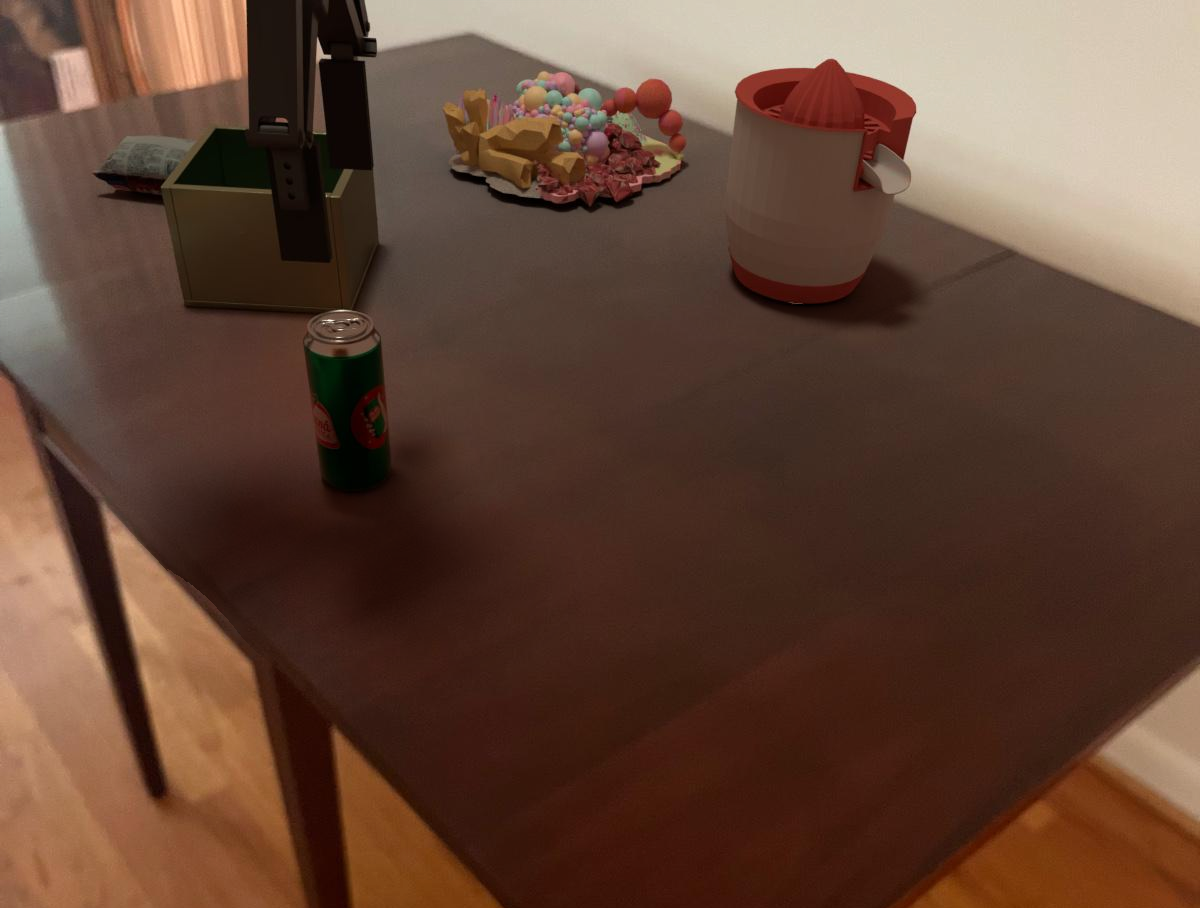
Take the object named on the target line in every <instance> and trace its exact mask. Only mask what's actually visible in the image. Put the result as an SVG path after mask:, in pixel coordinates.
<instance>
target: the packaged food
mask: <svg viewBox="0 0 1200 908" xmlns="http://www.w3.org/2000/svg"><path fill="white" fill-rule="evenodd" d="M196 141H197V140H192V139H188V138H183V137H177V136H176V137H175V136H166V135H165V136H164V135H157V134H146V135H127V136H125V138H124V139H122V141H120V143H119V144H118V146H117V147H116V148H115V149H114V150H113V152H111V154H110V155H109V156H108V158H107V159H105V161H104V162H103V163H102V164H101V165H99V166H97V168H96V169H94V171H93V172H92V173H91V174H92V175H94V176H95V177H96V179H98V180H100V181H104V182H105V183H106V184H107V185H109V186H111V187H112V188H114V189H115V190H118V191H126V192H135V193H143V194H152V195H155V196H162V192H161V186H162V185H163V183H164V182H165V181H166V180H167V178H168V177H169V176H170V174H171V173H172V172H173V171H174V169H175V168H176V167H177V165H178V164H179V163H180V162H181V160H182V159H183V158H184V156H185V155H186V154H187V153H188V151H189V150H190V149H191V147H192V146H193V145H194V144H195V142H196Z"/></svg>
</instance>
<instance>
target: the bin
mask: <svg viewBox="0 0 1200 908" xmlns="http://www.w3.org/2000/svg"><path fill="white" fill-rule="evenodd" d="M245 129H249V125H247V126H245V125H232V124H230V125H229V124H211V123H210V124H208V126H207V127H206V128H205V129H204V130H203V132H202V134H200V136H199V137H198V138H197V140H195V141H196V142H195V144H194V145H193V146H192V147H191V149H190V150H189V151H188V153H187V154H186V155H185V156H184V158H183V159H182V160H181V162H180V163H179V164H178V165H177V167H176V168H175V169H174V171H173V172H172V173H171V174H170V176H169V177H168V178H167V180H166V181H165V182H164V183H163V185H162V186H161V192H162V195H161V197H162V200H163V201H162V202H163V206H164V211H165V216H166V221H167V226H168V231H169V236H170V241H171V245H172V251H173V255H174V261H175V265H176V271H177V275H178V281H179V285H180V290H181V294H182V299H183V305H184V307H191V308H192V307H195V308H209V309H210V308H213V309H230V310H231V309H232V310H249V311H267V312H268V311H269V312H282V313H283V312H286V313H302V314H305V313H306V314H318V315H319V314H321V313H324V312H328V311H334V310H352V311H355V310H354V309H355V307H356V306H357V302H358V299H359V297H360V294H361V291H362V289H363V288H364V287H363V286H364V284H365V282H366V279H367V277H368V274H369V271H370V268H371V266H372V264H373V261H374V258H375V255H376V253H377V250H378V248H379V246H380V239H379V226H378V215H377V212H378V211H377V200H376V187H375V186H376V185H375V174H374V168H373V169H372V170H353V169H334V168H330V163H329V154H328V145H327V136H326V130H319V129H313V134H314V140H315V141H319V143H320V152H321V160H322V169H323V178H324V187H325V196H326V205H327V213H328V222H329V231H330V240H331V249H332V259H331V262H330V263H319V262H300V261H281V254H280V247H279V240H278V233H277V226H276V219H275V212H274V205H273V198H272V191H271V184H270V178H269V171H268V164H267V157H266V150H265V147H256V146H249V145H248V144H247V142H246V137H245Z"/></svg>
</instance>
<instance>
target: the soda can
mask: <svg viewBox="0 0 1200 908" xmlns="http://www.w3.org/2000/svg"><path fill="white" fill-rule="evenodd" d="M306 330H307V331H306V334H305V335H304V337H303V340H302V346H303V353H304V360H305V368H306V376H307V382H308V390H309V397H310V404H311V412H312V419H313V420H312V421H313V426H314V427H313V428H314V435H315V442H316V450H317V456H318V464H319V469H320V470H319V471H320V472H319V473H320V475H321V477H322V479H323V480H324V481H325V482H326V483H327V484H329V485H330V486H332V487H333V488H336V489H337V490H340V491H342V492H343V491H344V492H353V493H357V492H359V493H360V492H364V491H365V492H366V491H370V490H372V489H375V488H376V487H378V486H380V485H381V484H383V482H385V481H386V479H387V478H388V477H389V476H390V474H391V473H392V469H393V464H392V451H391V439H390V430H389V429H390V427H389V415H388V405H387V393H386V391H387V390H386V381H385V370H384V369H385V368H384V358H383V356H384V355H383V345H382V337H381V333H380V332H379V331H378V330H377V329H376V328H375V323H374V320H373V319H372V317H370V316H369V315H368V314H365V313H364V312H360V311H356V310H353V311H352V310H334V311H328V312H324V313H321V314H319V313H318V314H316V315H315V316H314V317H312V318H311V319H310V320H309V321H308V322H307V325H306Z"/></svg>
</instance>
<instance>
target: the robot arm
mask: <svg viewBox="0 0 1200 908" xmlns="http://www.w3.org/2000/svg"><path fill="white" fill-rule="evenodd" d="M245 11H246V14H245V15H246V16H245V17H246V56H247V59H246V61H247V95H248V96H247V97H248V98H247V99H248V103H247V104H248V126H249V129H245V137H246V142H247V144H248V145H249V146H256V147H265V150H266V157H267V164H268V171H269V178H270V184H271V191H272V198H273V205H274V212H275V219H276V226H277V233H278V240H279V247H280V254H281V261H300V262H319V263H330V262H331V259H332V249H331V240H330V231H329V222H328V213H327V205H326V196H325V187H324V178H323V169H322V160H321V152H320V143H319V141H315V140H314V134H313V130H314V115H315V94H316V76H317V75H316V72H317V49H318V43H319V45H320V48H321V51H322V53H323V55H324V56H330V58H320V59H319V61H318V71H319V79H320V80H319V81H320V87H321V88H320V89H321V97H322V106H323V118H324V125H325V131H326V136H327V145H328V154H329V163H330V168H334V169H353V170H372V169H373V170H374V167H375V163H374V152H373V141H372V127H371V116H370V105H369V93H368V91H369V90H368V80H367V79H368V78H367V67H366V61H365V60H360V59H359V58H377V55H378V41H377V38H376V37H369V33H370V31H371V22H369V15H368V11H367V6H366V1H365V0H245ZM277 119H285V120H286V121H287V122H284V121H277Z"/></svg>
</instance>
